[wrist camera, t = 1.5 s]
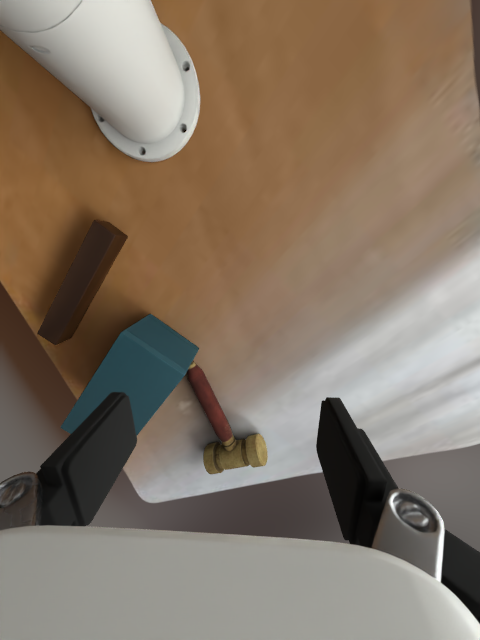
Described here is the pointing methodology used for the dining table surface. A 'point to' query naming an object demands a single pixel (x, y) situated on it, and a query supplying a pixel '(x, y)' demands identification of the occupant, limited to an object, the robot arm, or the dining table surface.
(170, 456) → the dining table surface
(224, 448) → the gavel
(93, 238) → the stick
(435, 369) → the dining table surface
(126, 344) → the teal rectangular block
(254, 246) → the dining table surface
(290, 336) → the dining table surface
